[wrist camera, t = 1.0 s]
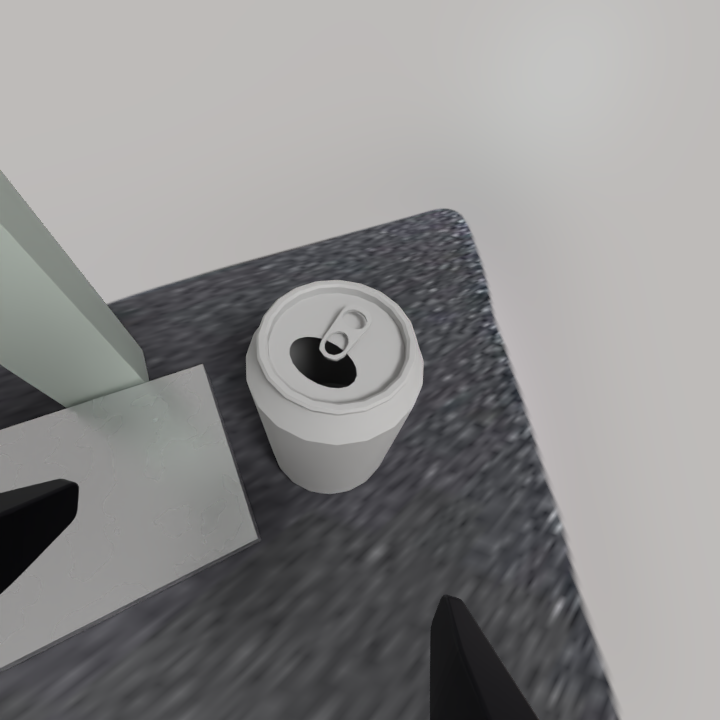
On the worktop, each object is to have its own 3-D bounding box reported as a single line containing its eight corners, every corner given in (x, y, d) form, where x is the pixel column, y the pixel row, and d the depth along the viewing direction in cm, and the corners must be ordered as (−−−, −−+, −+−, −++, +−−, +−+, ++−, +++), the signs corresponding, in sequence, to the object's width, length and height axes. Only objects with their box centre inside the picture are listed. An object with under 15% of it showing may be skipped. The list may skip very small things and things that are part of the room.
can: (248, 450, 22) (190, 348, 12) (319, 370, 26) (320, 240, 16) (342, 523, 21) (366, 475, 11) (404, 426, 24) (467, 322, 14)
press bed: (261, 540, 20) (257, 538, 18) (8, 669, 16) (-19, 677, 15) (208, 374, 25) (202, 364, 24) (6, 442, 21) (-14, 434, 20)
